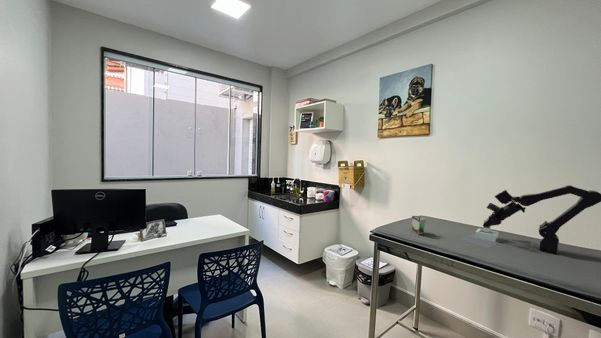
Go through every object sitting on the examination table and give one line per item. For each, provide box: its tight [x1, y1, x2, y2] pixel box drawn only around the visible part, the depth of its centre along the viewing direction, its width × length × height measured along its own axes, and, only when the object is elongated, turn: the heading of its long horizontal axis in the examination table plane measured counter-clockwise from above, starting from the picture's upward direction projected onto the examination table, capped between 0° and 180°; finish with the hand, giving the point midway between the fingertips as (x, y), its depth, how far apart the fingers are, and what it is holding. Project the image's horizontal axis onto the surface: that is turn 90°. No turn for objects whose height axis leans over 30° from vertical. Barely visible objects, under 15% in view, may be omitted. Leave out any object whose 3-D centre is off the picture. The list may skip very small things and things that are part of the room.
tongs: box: [483, 217, 492, 234], centre depth 153 cm, size 3×4×12 cm
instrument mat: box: [457, 232, 506, 249], centre depth 151 cm, size 16×26×1 cm, turn 124°
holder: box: [474, 228, 499, 242], centre depth 153 cm, size 10×10×4 cm
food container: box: [411, 215, 427, 236], centre depth 162 cm, size 12×6×10 cm, turn 179°
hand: (484, 224), depth 154 cm, fingers open, 9 cm apart
